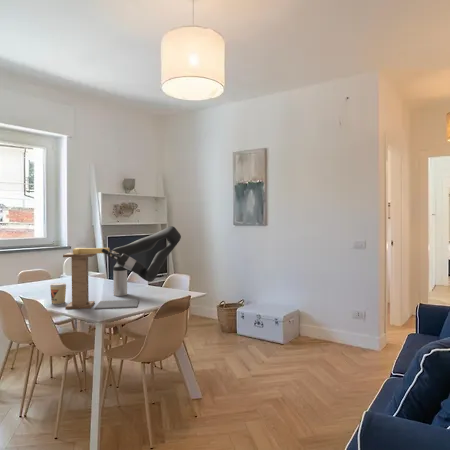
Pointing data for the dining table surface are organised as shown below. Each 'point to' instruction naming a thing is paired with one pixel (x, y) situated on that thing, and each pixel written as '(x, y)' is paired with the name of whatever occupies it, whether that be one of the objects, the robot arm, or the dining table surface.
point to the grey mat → (117, 304)
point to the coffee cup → (58, 293)
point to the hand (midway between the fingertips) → (103, 249)
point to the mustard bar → (88, 250)
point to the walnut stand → (79, 281)
